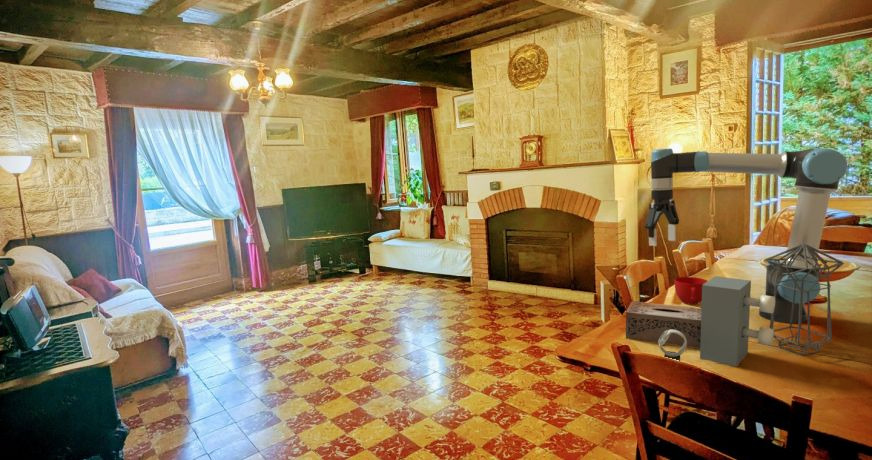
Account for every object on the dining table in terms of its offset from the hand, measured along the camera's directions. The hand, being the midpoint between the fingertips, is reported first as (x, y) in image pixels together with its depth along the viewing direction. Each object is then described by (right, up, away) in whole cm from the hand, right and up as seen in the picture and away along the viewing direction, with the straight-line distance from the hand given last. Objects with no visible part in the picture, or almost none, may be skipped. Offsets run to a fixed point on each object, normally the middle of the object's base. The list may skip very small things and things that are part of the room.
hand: (662, 243), depth 184 cm
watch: (-16, -37, -39) cm, 56 cm away
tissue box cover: (-6, -34, -16) cm, 38 cm away
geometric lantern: (+28, -34, -32) cm, 55 cm away
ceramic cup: (+22, -27, +20) cm, 40 cm away
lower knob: (+9, -29, -40) cm, 50 cm away
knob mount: (+3, -35, -34) cm, 49 cm away
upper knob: (+8, -19, -42) cm, 47 cm away
